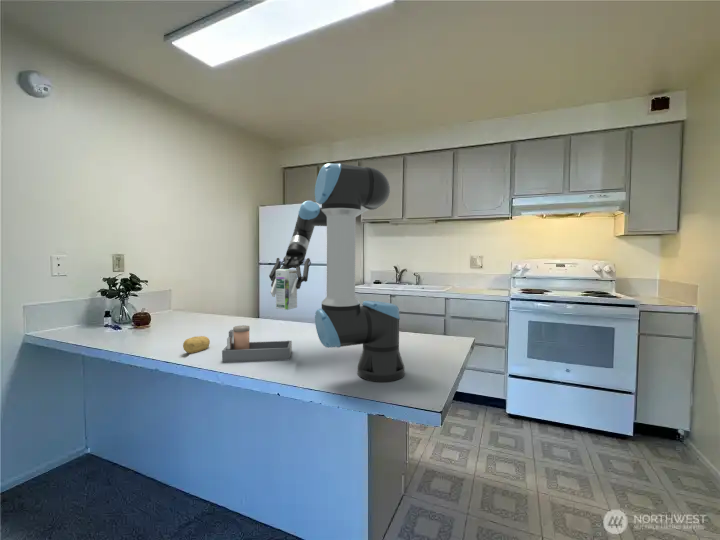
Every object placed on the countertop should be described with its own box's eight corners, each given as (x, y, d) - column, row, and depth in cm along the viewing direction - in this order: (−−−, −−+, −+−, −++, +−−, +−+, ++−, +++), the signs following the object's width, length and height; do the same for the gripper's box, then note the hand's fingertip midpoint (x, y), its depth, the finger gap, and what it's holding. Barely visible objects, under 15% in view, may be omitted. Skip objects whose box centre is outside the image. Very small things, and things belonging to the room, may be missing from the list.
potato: (178, 355, 129) (177, 339, 129) (202, 347, 140) (202, 332, 139) (190, 357, 127) (190, 340, 126) (214, 349, 137) (214, 334, 136)
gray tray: (291, 353, 131) (291, 340, 131) (289, 362, 121) (289, 348, 121) (229, 355, 128) (229, 342, 128) (222, 365, 118) (222, 350, 118)
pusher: (235, 352, 127) (235, 328, 127) (230, 359, 119) (229, 333, 119) (232, 353, 127) (232, 328, 127) (227, 359, 119) (226, 333, 119)
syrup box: (275, 308, 125) (274, 269, 124) (286, 306, 130) (285, 268, 129) (287, 310, 122) (286, 269, 121) (297, 307, 127) (297, 269, 126)
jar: (248, 358, 121) (247, 328, 121) (232, 359, 121) (231, 329, 120) (251, 354, 127) (250, 325, 126) (235, 354, 126) (235, 325, 126)
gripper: (323, 255, 138) (311, 301, 123) (276, 255, 141) (260, 300, 126) (319, 242, 132) (307, 288, 117) (271, 242, 136) (253, 287, 121)
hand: (282, 294), depth 122 cm, fingers closed on syrup box, 7 cm apart
